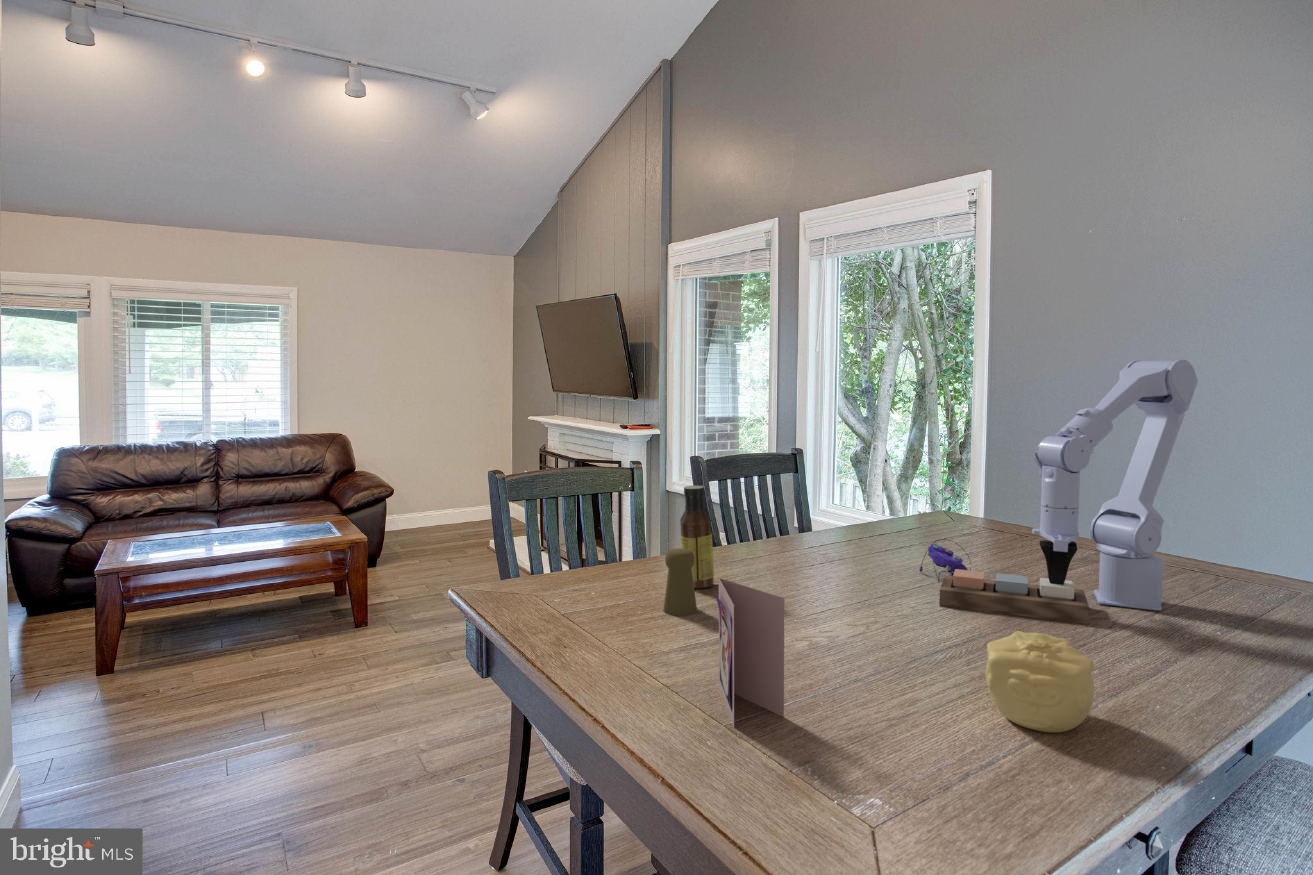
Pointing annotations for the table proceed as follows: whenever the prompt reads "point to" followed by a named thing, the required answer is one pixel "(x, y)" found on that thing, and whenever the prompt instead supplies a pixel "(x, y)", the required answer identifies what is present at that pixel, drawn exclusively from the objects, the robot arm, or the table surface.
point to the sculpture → (1040, 681)
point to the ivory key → (1056, 590)
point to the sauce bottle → (698, 536)
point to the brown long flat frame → (1015, 602)
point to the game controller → (944, 558)
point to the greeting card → (751, 646)
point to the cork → (680, 583)
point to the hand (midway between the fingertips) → (1056, 583)
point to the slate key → (1011, 584)
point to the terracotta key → (968, 579)
